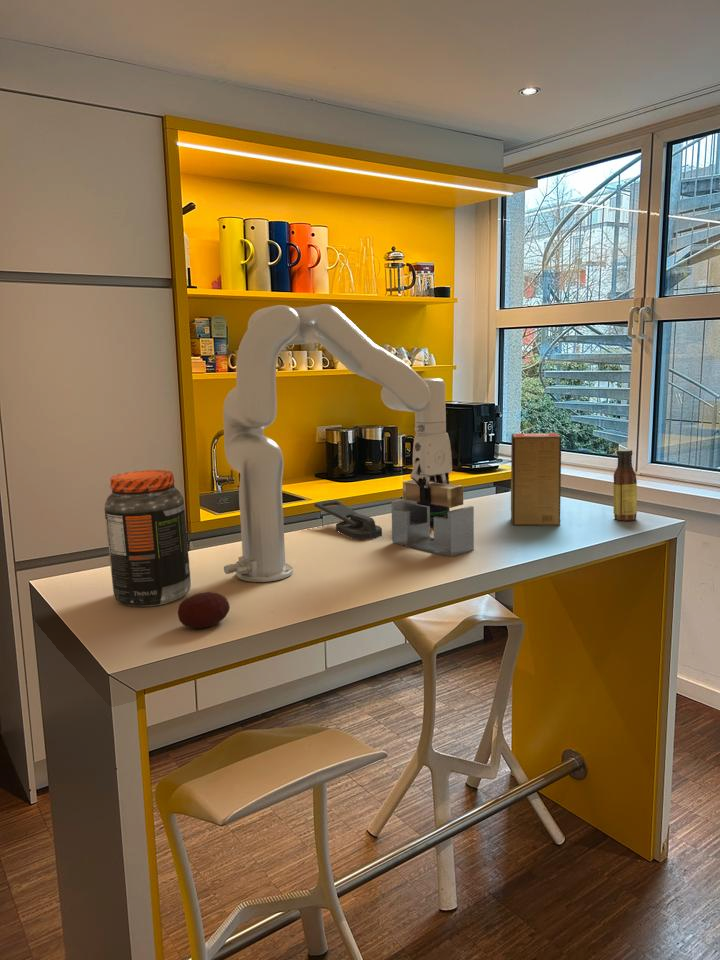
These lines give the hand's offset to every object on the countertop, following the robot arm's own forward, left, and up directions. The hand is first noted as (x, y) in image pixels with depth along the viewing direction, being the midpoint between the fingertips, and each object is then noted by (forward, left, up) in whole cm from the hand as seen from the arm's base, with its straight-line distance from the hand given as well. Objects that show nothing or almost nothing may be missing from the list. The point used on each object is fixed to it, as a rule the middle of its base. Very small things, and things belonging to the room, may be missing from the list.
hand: (432, 500), depth 185 cm
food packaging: (+39, -4, -12) cm, 41 cm away
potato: (-69, -6, -12) cm, 71 cm away
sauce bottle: (+58, -21, -12) cm, 63 cm away
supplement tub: (-68, +17, -12) cm, 71 cm away
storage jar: (+19, +17, -12) cm, 28 cm away
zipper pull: (-3, +30, -12) cm, 32 cm away
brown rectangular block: (0, 0, 0) cm, 0 cm away
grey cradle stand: (0, 0, -12) cm, 12 cm away
